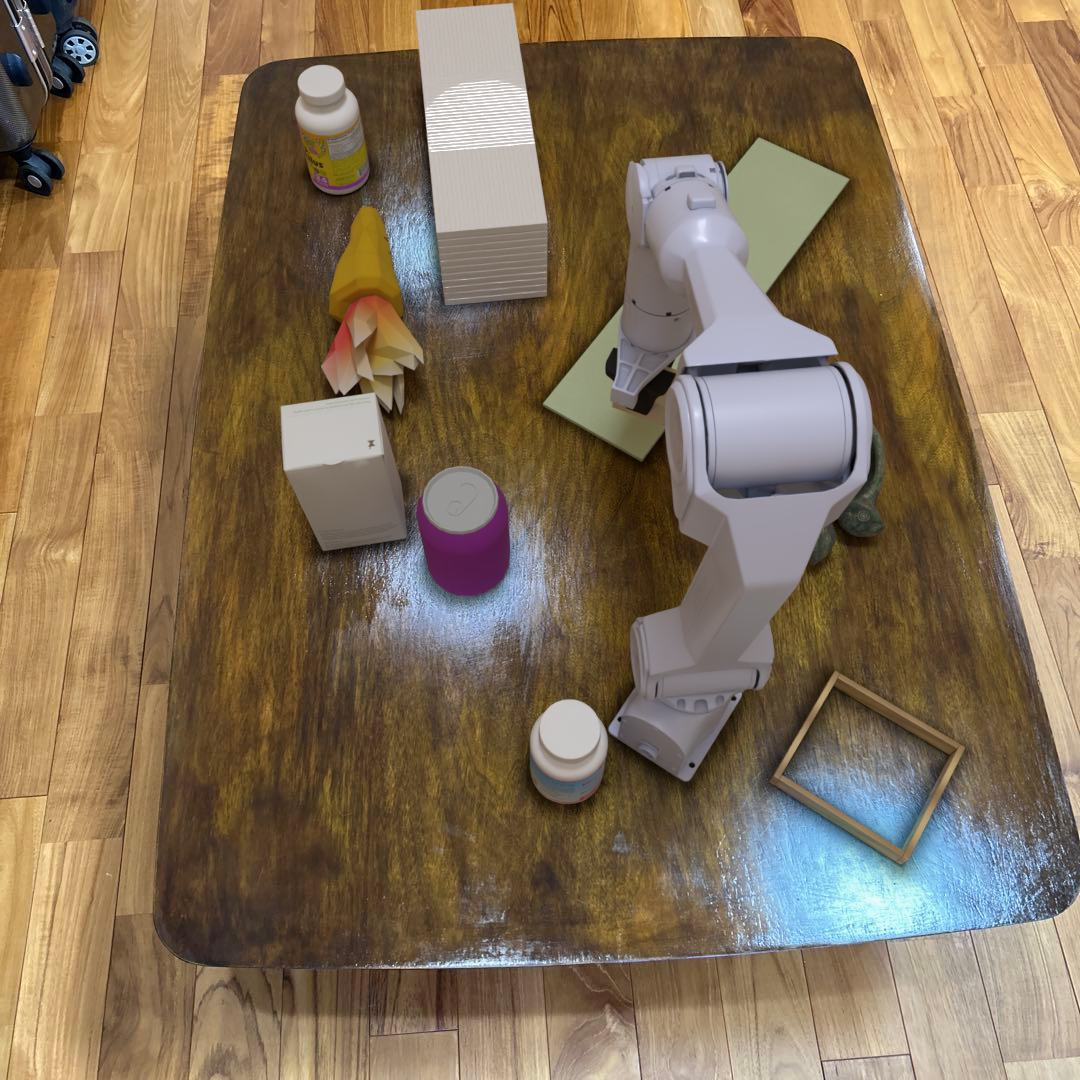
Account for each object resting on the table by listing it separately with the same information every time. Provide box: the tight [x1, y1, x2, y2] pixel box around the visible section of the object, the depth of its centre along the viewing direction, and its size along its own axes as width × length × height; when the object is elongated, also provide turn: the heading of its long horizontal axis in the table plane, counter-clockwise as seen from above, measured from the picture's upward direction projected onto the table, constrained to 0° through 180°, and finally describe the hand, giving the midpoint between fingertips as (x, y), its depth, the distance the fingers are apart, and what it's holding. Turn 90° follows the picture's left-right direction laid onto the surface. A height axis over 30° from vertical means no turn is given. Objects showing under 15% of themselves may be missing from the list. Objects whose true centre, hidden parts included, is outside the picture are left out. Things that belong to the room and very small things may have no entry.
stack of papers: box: [414, 2, 549, 307], centre depth 115 cm, size 32×11×11 cm, turn 7°
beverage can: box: [415, 465, 511, 597], centre depth 93 cm, size 8×8×12 cm
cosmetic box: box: [280, 392, 408, 552], centre depth 94 cm, size 8×7×16 cm
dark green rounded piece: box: [808, 422, 887, 566], centre depth 97 cm, size 15×15×10 cm
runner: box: [542, 137, 850, 463], centre depth 113 cm, size 44×12×1 cm, turn 146°
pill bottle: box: [529, 698, 609, 805], centre depth 85 cm, size 6×6×11 cm
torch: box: [320, 205, 425, 415], centre depth 108 cm, size 8×8×25 cm
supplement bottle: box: [294, 64, 371, 196], centre depth 115 cm, size 7×7×13 cm
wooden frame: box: [768, 670, 966, 866], centre depth 89 cm, size 11×12×2 cm
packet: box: [612, 366, 677, 426], centre depth 95 cm, size 4×5×3 cm
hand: (646, 389), depth 95 cm, fingers closed on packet, 4 cm apart
